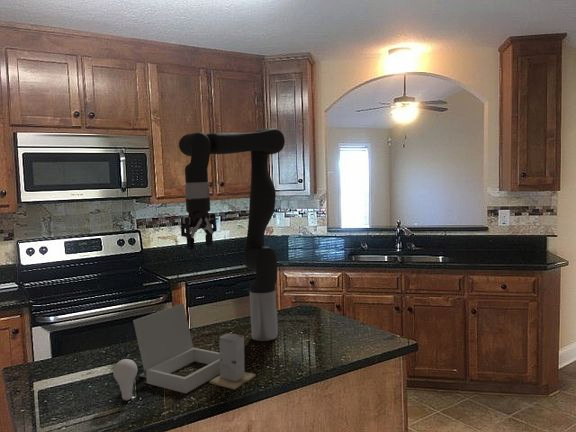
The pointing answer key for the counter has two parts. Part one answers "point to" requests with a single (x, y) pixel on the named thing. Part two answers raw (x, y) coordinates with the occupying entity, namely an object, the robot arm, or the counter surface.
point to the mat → (230, 383)
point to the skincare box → (232, 356)
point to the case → (161, 371)
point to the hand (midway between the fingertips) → (200, 247)
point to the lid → (163, 335)
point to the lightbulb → (125, 376)
